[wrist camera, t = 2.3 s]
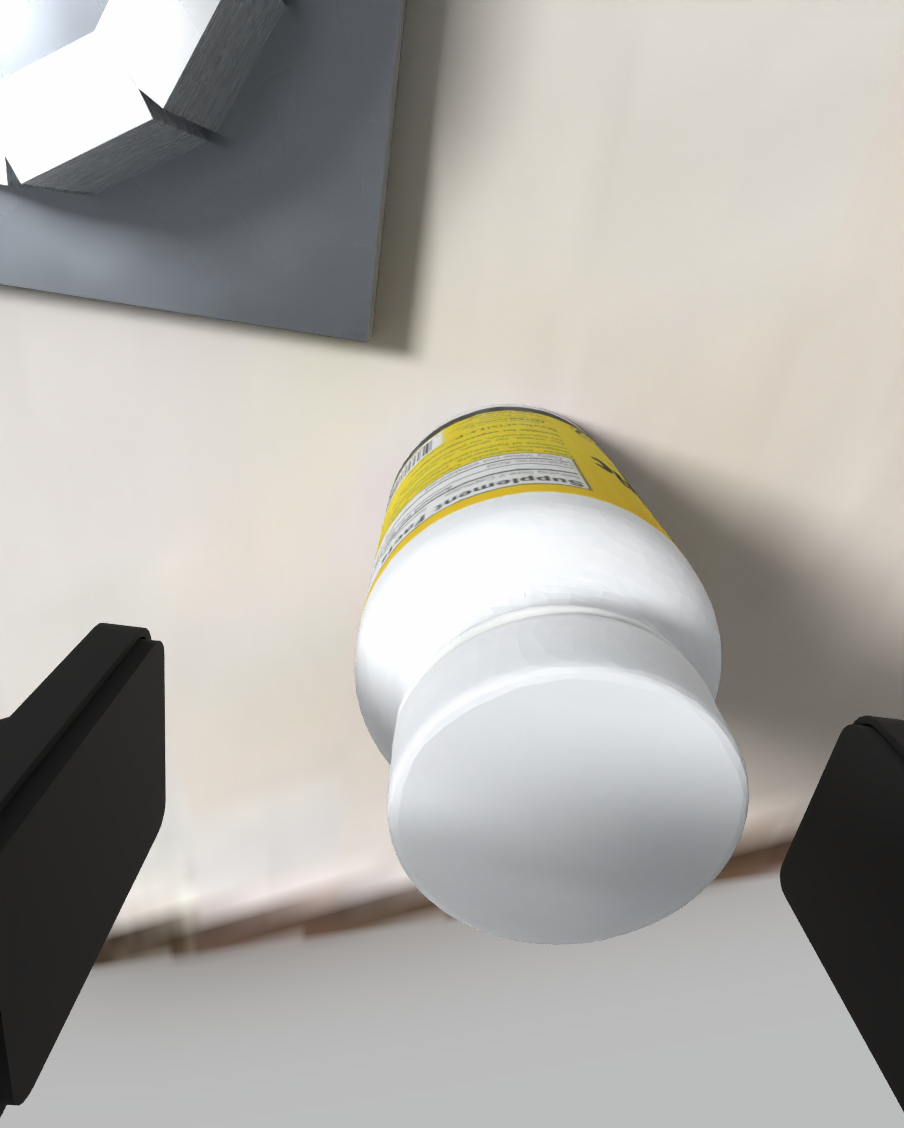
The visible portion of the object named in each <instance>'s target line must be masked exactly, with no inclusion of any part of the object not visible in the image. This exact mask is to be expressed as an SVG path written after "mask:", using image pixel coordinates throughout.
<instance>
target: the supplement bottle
mask: <svg viewBox="0 0 904 1128" xmlns="http://www.w3.org/2000/svg"><path fill="white" fill-rule="evenodd" d="M721 659H722V653H721V640H720V634H719V629H718V624H717V620H716V616H715V612H714V609H713V607H712V604H711V601H710V599H709V597H708V595H707V593H706V591H705V589H704V586H703V585H702V583H701V581H700V580H699V578H698V576H697V575H696V573H695V571H694V570H693V568H692V567H691V565H690V564H689V562H688V561H687V559H686V558H685V556H684V555H683V554H682V552H681V551H680V549H679V548H678V547H677V546H676V544H675V543H674V542H673V541H672V539H671V538H670V537H669V535H668V534H667V533H666V532H665V530H664V529H663V528H662V526H661V525H660V524H659V523H658V521H657V520H656V519H655V518H654V516H653V515H652V514H651V512H650V511H649V510H648V509H647V507H646V506H645V504H644V503H643V502H642V501H641V499H640V498H639V497H638V495H637V494H636V493H635V491H634V490H633V489H632V488H631V486H630V485H629V484H628V483H627V481H626V480H625V479H624V477H623V476H622V475H621V474H620V472H619V471H618V470H617V468H616V467H615V465H614V464H613V463H612V461H611V460H610V459H609V457H608V456H607V455H606V453H605V452H604V451H603V450H602V449H601V448H600V447H599V446H598V444H597V443H596V442H595V441H594V440H593V439H592V438H591V437H590V436H589V435H588V434H586V433H585V432H584V431H583V430H582V429H581V428H579V427H578V426H576V425H575V424H574V423H572V422H570V421H569V420H567V419H565V418H563V417H561V416H560V415H557V414H555V413H552V412H550V411H547V410H543V409H540V408H536V407H531V406H525V405H512V404H503V405H491V406H485V407H480V408H477V409H474V410H470V411H467V412H464V413H461V414H459V415H456V416H454V417H452V418H450V419H448V420H446V421H445V422H443V423H442V424H440V425H439V426H437V427H436V428H434V429H433V430H432V431H431V432H429V433H428V434H427V435H426V436H425V437H424V438H423V439H422V440H420V441H419V443H418V444H417V445H416V446H415V447H414V449H413V450H412V451H411V452H410V453H409V455H408V456H407V458H406V459H405V461H404V463H403V465H402V467H401V468H400V470H399V472H398V475H397V477H396V479H395V482H394V484H393V487H392V491H391V494H390V497H389V501H388V504H387V508H386V512H385V517H384V521H383V525H382V531H381V536H380V540H379V544H378V549H377V553H376V558H375V562H374V567H373V571H372V574H371V579H370V584H369V587H368V592H367V596H366V600H365V604H364V609H363V612H362V616H361V620H360V625H359V630H358V638H357V644H356V650H355V682H356V693H357V697H358V701H359V705H360V709H361V713H362V716H363V718H364V721H365V724H366V726H367V728H368V731H369V733H370V735H371V737H372V738H373V740H374V742H375V744H376V745H377V747H378V749H379V751H380V752H381V754H382V755H383V756H384V758H385V759H386V760H387V761H388V763H389V764H390V765H391V767H390V777H389V787H388V800H387V819H388V825H389V831H390V836H391V840H392V844H393V847H394V850H395V852H396V855H397V857H398V859H399V861H400V863H401V865H402V867H403V869H404V871H405V872H406V874H407V875H408V877H409V878H410V879H411V881H412V882H413V883H414V884H415V886H416V887H417V888H418V890H419V891H420V892H421V893H423V894H424V895H425V896H426V897H427V898H428V899H429V900H430V901H431V902H433V903H434V904H435V905H436V906H438V907H439V908H440V909H441V910H443V911H444V912H445V913H447V914H448V915H450V916H452V917H454V918H455V919H457V920H459V921H461V922H463V923H464V924H466V925H468V926H471V927H473V928H476V929H479V930H481V931H483V932H486V933H490V934H492V935H495V936H499V937H502V938H507V939H511V940H515V941H522V942H529V943H537V944H577V943H588V942H594V941H600V940H605V939H608V938H612V937H615V936H619V935H623V934H627V933H629V932H632V931H635V930H638V929H640V928H643V927H645V926H648V925H650V924H653V923H655V922H657V921H659V920H661V919H663V918H664V917H667V916H669V915H670V914H672V913H673V912H675V911H677V910H679V909H680V908H682V907H683V906H685V905H686V904H687V903H688V902H690V901H691V900H692V899H694V898H695V897H696V896H697V895H699V894H700V893H701V892H702V891H703V890H704V889H705V888H706V887H707V886H708V885H709V884H710V883H711V882H712V881H713V880H714V879H715V878H716V876H717V875H718V874H719V873H720V872H721V871H722V869H723V868H724V866H725V865H726V863H727V862H728V860H729V859H730V857H731V856H732V855H733V852H734V850H735V848H736V846H737V844H738V842H739V839H740V837H741V834H742V831H743V828H744V824H745V821H746V817H747V811H748V802H749V792H748V778H747V773H746V768H745V763H744V759H743V757H742V754H741V751H740V749H739V746H738V744H737V742H736V740H735V738H734V737H733V735H732V733H731V731H730V730H729V728H728V726H727V724H726V722H725V721H724V719H723V717H722V715H721V713H720V711H719V710H718V708H717V706H716V704H715V700H716V697H717V693H718V689H719V682H720V676H721Z"/></svg>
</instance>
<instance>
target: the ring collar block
mask: <svg viewBox="0 0 904 1128" xmlns="http://www.w3.org/2000/svg"><path fill="white" fill-rule="evenodd" d="M405 4H406V0H0V284H3V285H10V286H16V287H22V288H29V289H35V290H41V291H48V292H54V293H60V294H67V295H73V296H79V297H85V298H92V299H98V300H104V301H111V302H117V303H123V304H130V305H136V306H142V307H149V308H155V309H161V310H167V311H174V312H180V313H186V314H193V315H199V316H205V317H212V318H218V319H224V320H230V321H237V322H243V323H249V324H256V325H262V326H268V327H275V328H281V329H287V330H294V331H300V332H306V333H312V334H319V335H325V336H331V337H338V338H344V339H350V340H357V341H363V342H367V341H368V340H369V339H370V338H371V337H372V332H373V322H374V312H375V302H376V292H377V282H378V272H379V262H380V252H381V242H382V232H383V222H384V213H385V203H386V193H387V183H388V173H389V163H390V153H391V143H392V133H393V123H394V113H395V103H396V93H397V84H398V74H399V64H400V54H401V44H402V34H403V24H404V14H405Z"/></svg>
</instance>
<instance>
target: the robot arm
mask: <svg viewBox="0 0 904 1128" xmlns="http://www.w3.org/2000/svg"><path fill="white" fill-rule="evenodd" d="M165 801H166V798H165V682H164V646H163V643H162V642H161V641H155V640H151V636H150V633H149V631H148V630H147V629H146V628H141V627H132V626H124V625H116V624H108V623H99V624H98V625H97V626H95V627H94V628H93V629H92V630H91V631H90V632H89V633H88V635H87V636H86V637H85V638H84V639H83V640H82V641H81V642H80V643H79V644H78V645H77V646H76V647H75V648H74V649H73V650H72V651H71V653H70V654H69V655H68V656H67V657H66V658H65V659H64V660H63V661H62V662H61V663H60V664H59V665H58V666H57V667H56V668H55V669H54V671H53V672H52V673H51V674H50V675H49V676H48V677H47V678H46V679H45V680H44V681H43V682H42V683H41V684H40V685H39V686H38V687H37V689H36V690H35V691H34V692H33V693H32V694H31V695H30V696H29V697H28V698H27V699H26V700H25V701H24V702H23V703H22V704H21V705H20V706H19V708H18V709H17V710H16V711H15V712H14V713H13V714H12V715H11V716H10V717H7V718H4V719H0V1117H1V1115H2V1113H3V1111H4V1109H5V1107H6V1105H20V1104H22V1103H23V1102H24V1101H25V1099H26V1098H27V1096H28V1095H29V1094H30V1092H31V1090H32V1088H33V1087H34V1085H35V1083H36V1081H37V1079H38V1076H39V1075H40V1072H41V1070H42V1068H43V1066H44V1064H45V1062H46V1060H47V1058H48V1056H49V1054H50V1052H51V1050H52V1048H53V1046H54V1044H55V1042H56V1040H57V1038H58V1036H59V1034H60V1032H61V1030H62V1027H63V1026H64V1024H65V1021H66V1020H67V1017H68V1015H69V1013H70V1011H71V1009H72V1007H73V1005H74V1003H75V1001H76V999H77V997H78V995H79V993H80V991H81V989H82V987H83V985H84V983H85V981H86V979H87V977H88V975H89V973H90V971H91V969H92V967H93V965H94V962H95V960H96V958H97V956H98V954H99V952H100V950H101V948H102V946H103V944H104V942H105V940H106V938H107V936H108V934H109V932H110V930H111V928H112V926H113V924H114V922H115V920H116V918H117V916H118V914H119V912H120V909H121V907H122V905H123V903H124V901H125V899H126V897H127V895H128V893H129V891H130V889H131V887H132V885H133V883H134V881H135V879H136V877H137V875H138V873H139V871H140V869H141V867H142V865H143V863H144V861H145V859H146V857H147V854H148V852H149V850H150V848H151V846H152V844H153V842H154V840H155V838H156V836H157V834H158V832H159V829H160V827H161V824H162V820H163V816H164V811H165ZM780 882H781V887H782V891H783V893H784V895H785V897H786V899H787V901H788V903H789V904H790V906H791V908H792V910H793V912H794V914H795V915H796V917H797V919H798V921H799V923H800V924H801V926H802V928H803V930H804V932H805V933H806V935H807V937H808V939H809V941H810V943H811V944H812V946H813V948H814V950H815V951H816V953H817V955H818V957H819V959H820V961H821V963H822V964H823V966H824V968H825V970H826V972H827V973H828V975H829V977H830V979H831V981H832V982H833V984H834V986H835V988H836V990H837V992H838V993H839V995H840V997H841V999H842V1000H843V1002H844V1004H845V1006H846V1008H847V1010H848V1011H849V1013H850V1015H851V1017H852V1019H853V1020H854V1022H855V1024H856V1026H857V1028H858V1030H859V1031H860V1033H861V1035H862V1037H863V1039H864V1040H865V1042H866V1044H867V1046H868V1048H869V1050H870V1051H871V1053H872V1055H873V1057H874V1058H875V1060H876V1062H877V1064H878V1066H879V1068H880V1070H881V1071H882V1073H883V1075H884V1077H885V1079H886V1080H887V1082H888V1084H889V1086H890V1088H891V1090H892V1091H893V1093H894V1095H895V1097H896V1098H897V1100H898V1102H899V1104H900V1106H901V1108H902V1109H903V1111H904V720H898V719H890V718H882V717H874V716H863V717H859V718H858V719H857V720H856V721H854V723H853V724H852V725H848V726H846V727H845V728H844V729H843V731H842V732H841V734H840V736H839V738H838V741H837V743H836V745H835V747H834V749H833V752H832V754H831V756H830V758H829V761H828V763H827V765H826V767H825V770H824V772H823V774H822V776H821V779H820V781H819V783H818V785H817V788H816V790H815V792H814V794H813V796H812V799H811V801H810V803H809V805H808V808H807V810H806V812H805V814H804V817H803V819H802V821H801V823H800V826H799V828H798V830H797V832H796V835H795V837H794V839H793V841H792V843H791V846H790V848H789V850H788V852H787V855H786V857H785V859H784V861H783V864H782V867H781V871H780Z"/></svg>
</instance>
